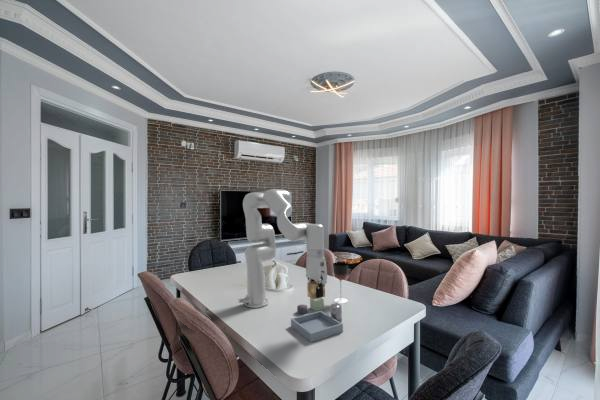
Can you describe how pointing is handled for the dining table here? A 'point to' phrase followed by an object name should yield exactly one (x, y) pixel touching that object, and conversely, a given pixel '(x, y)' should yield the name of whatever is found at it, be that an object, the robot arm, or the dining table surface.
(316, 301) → the sage block
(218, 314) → the dining table surface
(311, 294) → the oak block
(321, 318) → the tray
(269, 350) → the dining table surface
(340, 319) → the metal cylinder
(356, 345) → the dining table surface
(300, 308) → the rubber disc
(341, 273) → the wineglass
